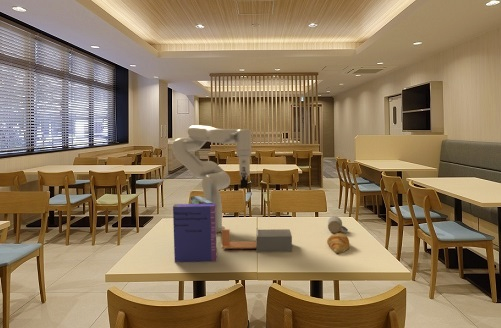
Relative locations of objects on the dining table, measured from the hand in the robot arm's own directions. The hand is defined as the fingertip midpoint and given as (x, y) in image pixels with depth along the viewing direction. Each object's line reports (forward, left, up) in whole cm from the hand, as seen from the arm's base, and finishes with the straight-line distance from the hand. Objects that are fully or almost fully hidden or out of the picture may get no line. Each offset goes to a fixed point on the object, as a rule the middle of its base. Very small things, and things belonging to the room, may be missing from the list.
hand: (244, 186), depth 190 cm
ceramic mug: (+50, +7, -27) cm, 57 cm away
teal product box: (-20, -17, -26) cm, 37 cm away
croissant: (+44, -19, -27) cm, 55 cm away
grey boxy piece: (+14, -19, -26) cm, 35 cm away
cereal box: (-20, -35, -26) cm, 48 cm away
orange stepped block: (-2, -19, -25) cm, 32 cm away
